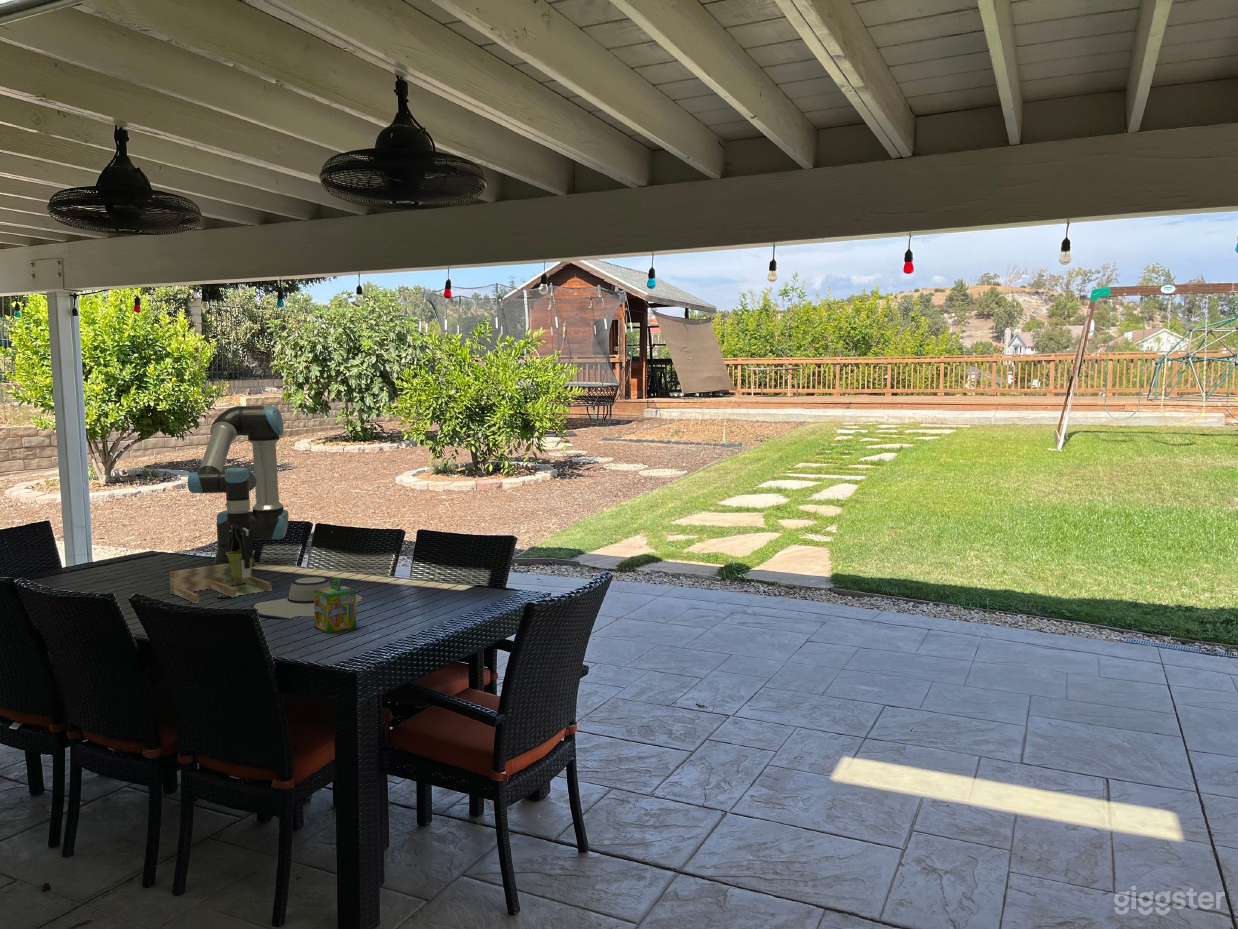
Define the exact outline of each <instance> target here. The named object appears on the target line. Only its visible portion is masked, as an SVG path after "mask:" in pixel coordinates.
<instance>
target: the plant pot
mask: <svg viewBox="0 0 1238 929" xmlns="http://www.w3.org/2000/svg"><path fill="white" fill-rule="evenodd" d="M252 551H253V557H255V556H254V555H255V552H256V551H255V550H253V549H252ZM226 555H227V556H228V559H229V563H230V567H231V572H232V577H233V578H234V577H236V578H242V562H241V558H242V553H241V550H239V551H231V552H227V553H226ZM252 560H253V558H251V559H250V569H251V572H252V570H253V566H252Z"/></svg>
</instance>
